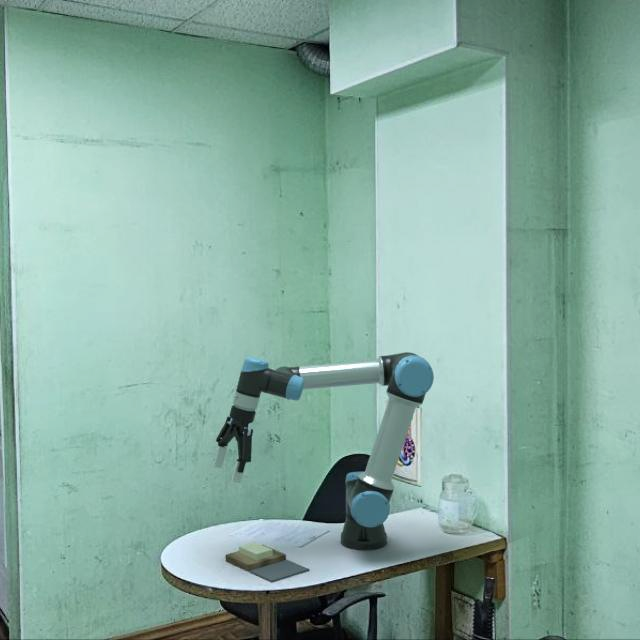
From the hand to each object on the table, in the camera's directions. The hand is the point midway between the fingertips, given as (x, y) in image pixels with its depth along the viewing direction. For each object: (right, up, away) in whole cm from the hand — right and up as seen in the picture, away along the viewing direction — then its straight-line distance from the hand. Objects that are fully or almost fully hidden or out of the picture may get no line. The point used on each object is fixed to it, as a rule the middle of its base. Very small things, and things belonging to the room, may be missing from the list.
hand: (226, 474), depth 255 cm
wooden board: (+9, -26, 0) cm, 28 cm away
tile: (+9, -24, 0) cm, 26 cm away
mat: (+17, -27, -9) cm, 33 cm away
